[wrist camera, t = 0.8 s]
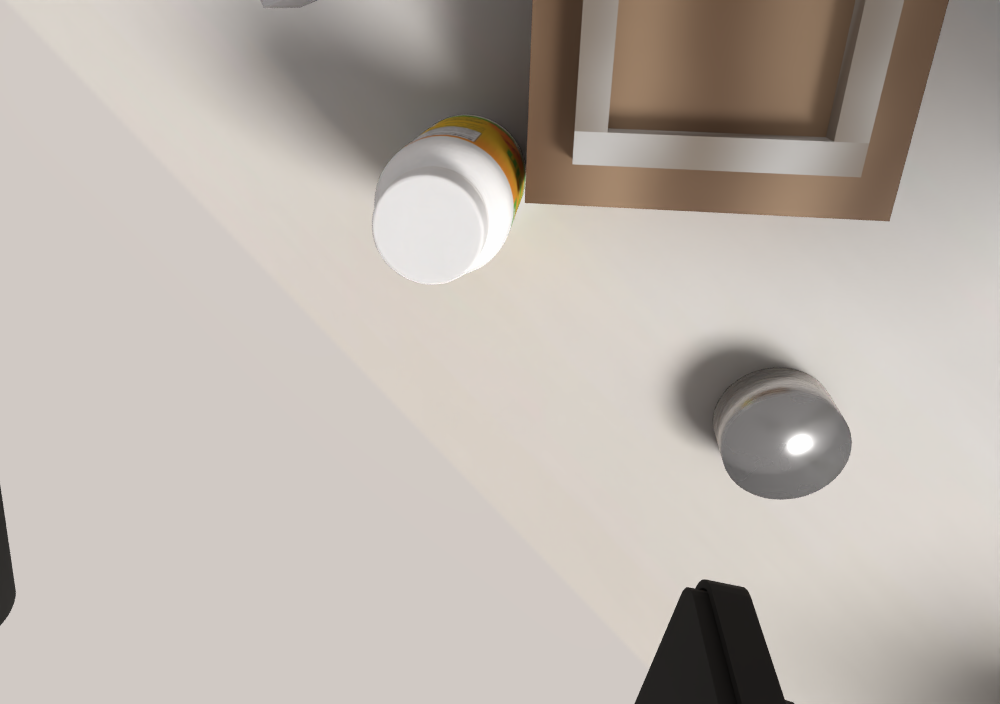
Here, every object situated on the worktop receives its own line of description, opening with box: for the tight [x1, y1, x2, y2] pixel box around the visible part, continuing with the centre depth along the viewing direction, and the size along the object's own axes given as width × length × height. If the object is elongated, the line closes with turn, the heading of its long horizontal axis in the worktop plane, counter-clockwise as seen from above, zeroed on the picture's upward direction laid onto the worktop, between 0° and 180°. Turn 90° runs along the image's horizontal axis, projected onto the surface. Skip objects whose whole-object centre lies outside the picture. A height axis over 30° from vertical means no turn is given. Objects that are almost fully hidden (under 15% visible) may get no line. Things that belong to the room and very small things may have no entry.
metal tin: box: [713, 368, 852, 499], centre depth 36 cm, size 6×6×3 cm
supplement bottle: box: [372, 115, 526, 285], centre depth 29 cm, size 5×5×10 cm
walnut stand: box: [525, 0, 949, 221], centre depth 27 cm, size 14×14×6 cm
